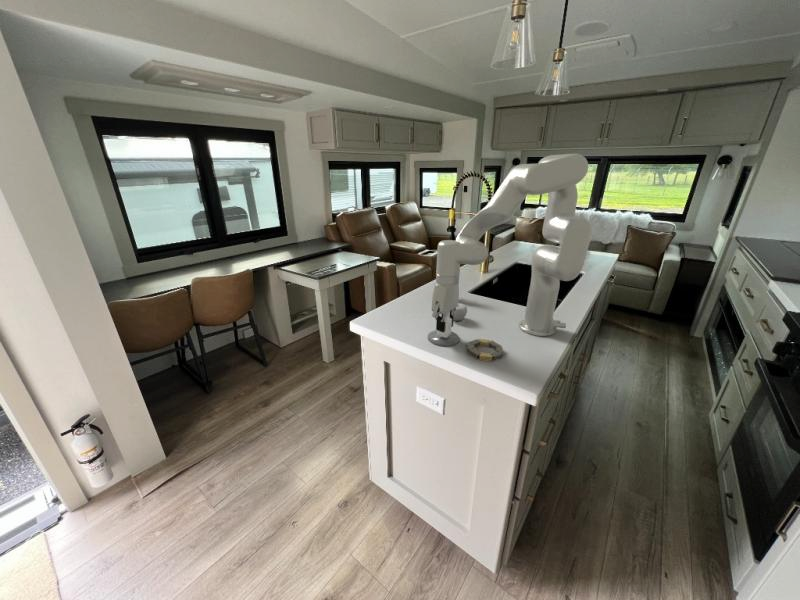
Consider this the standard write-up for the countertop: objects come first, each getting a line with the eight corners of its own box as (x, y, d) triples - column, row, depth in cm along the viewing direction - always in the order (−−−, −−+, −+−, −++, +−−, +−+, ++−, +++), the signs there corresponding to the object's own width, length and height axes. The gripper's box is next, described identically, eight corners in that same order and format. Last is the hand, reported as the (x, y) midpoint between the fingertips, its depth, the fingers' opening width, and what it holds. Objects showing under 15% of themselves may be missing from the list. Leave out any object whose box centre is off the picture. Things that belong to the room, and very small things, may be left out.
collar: (500, 344, 108) (501, 341, 107) (503, 362, 98) (504, 358, 97) (467, 341, 110) (468, 337, 109) (467, 358, 100) (468, 354, 99)
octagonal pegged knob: (466, 316, 129) (468, 301, 127) (466, 324, 122) (467, 309, 119) (447, 314, 131) (448, 299, 128) (445, 322, 124) (446, 307, 121)
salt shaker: (441, 331, 114) (442, 307, 110) (451, 334, 112) (453, 309, 108) (436, 335, 111) (437, 310, 107) (446, 338, 109) (448, 313, 105)
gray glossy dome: (459, 332, 116) (459, 331, 115) (458, 347, 106) (458, 346, 105) (429, 329, 118) (429, 328, 117) (425, 344, 108) (426, 342, 107)
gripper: (451, 270, 111) (448, 317, 118) (422, 282, 100) (421, 333, 107) (470, 275, 107) (466, 323, 114) (442, 287, 95) (439, 340, 102)
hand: (444, 327), depth 110 cm, fingers closed on salt shaker, 4 cm apart
